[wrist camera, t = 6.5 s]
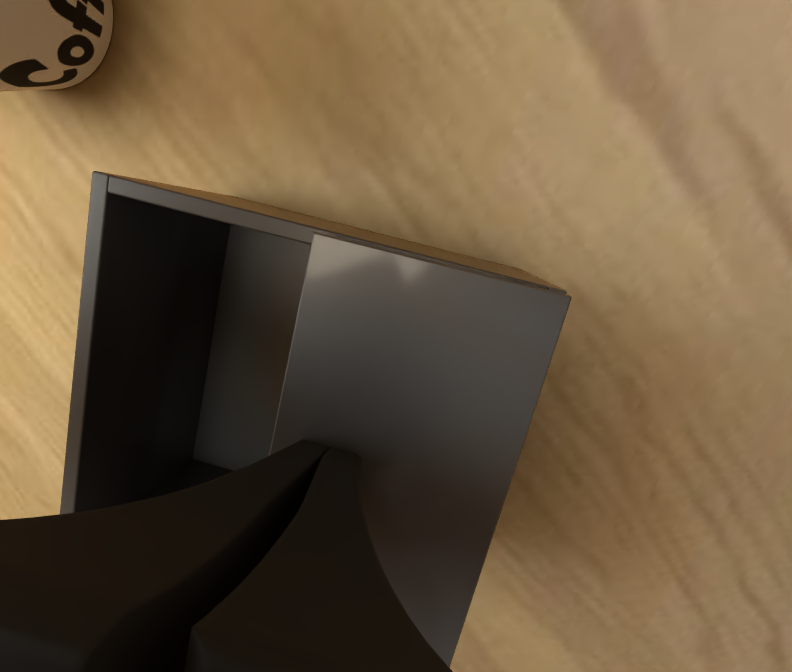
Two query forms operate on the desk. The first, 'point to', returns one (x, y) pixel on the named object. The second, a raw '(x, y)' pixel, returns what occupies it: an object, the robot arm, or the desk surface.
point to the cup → (52, 42)
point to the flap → (419, 407)
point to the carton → (190, 334)
